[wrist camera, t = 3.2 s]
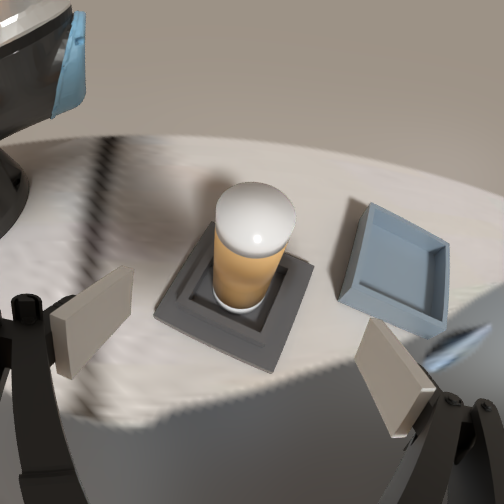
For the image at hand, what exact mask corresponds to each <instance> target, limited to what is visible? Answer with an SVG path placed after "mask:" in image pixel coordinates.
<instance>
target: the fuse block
mask: <svg viewBox="0 0 504 504" xmlns="http://www.w3.org/2000/svg"><path fill="white" fill-rule="evenodd" d="M214 239H215V223H214V222H211V223H210V225H209V226H208V228H207V229H206V231H205V232H204V234H203V235H202V237H201V238H200V240H199V242H198V243H197V245H196V246H195V248H194V249H193V251H192V252H191V254H190V256H189V257H188V259H187V260H186V262H185V264H184V265H183V267H182V268H181V270H180V272H179V273H178V275H177V276H176V278H175V280H174V281H173V283H172V285H171V286H170V288H169V289H168V291H167V293H166V294H165V296H164V298H163V299H162V301H161V303H160V304H159V306H158V308H157V309H156V311H155V313H154V314H153V316H154V318H155V319H157V320H159V321H160V322H162V323H164V324H166V325H168V326H170V327H172V328H174V329H175V330H177V331H179V332H181V333H183V334H185V335H187V336H189V337H191V338H193V339H195V340H197V341H199V342H201V343H203V344H205V345H207V346H209V347H212V348H214V349H216V350H218V351H220V352H222V353H224V354H226V355H229V356H231V357H233V358H235V359H237V360H240V361H242V362H244V363H246V364H249V365H251V366H253V367H256V368H258V369H260V370H263V371H265V372H267V373H270V374H272V373H273V372H274V369H275V367H276V364H277V362H278V360H279V357H280V355H281V352H282V350H283V347H284V345H285V343H286V340H287V338H288V335H289V333H290V330H291V328H292V325H293V322H294V320H295V317H296V315H297V312H298V310H299V307H300V304H301V302H302V299H303V296H304V294H305V291H306V288H307V286H308V283H309V280H310V277H311V275H312V272H313V269H314V266H313V265H311V264H309V263H306V262H304V261H302V260H300V259H297V258H295V257H293V256H290V255H288V254H286V253H283V255H282V257H281V260H280V262H279V264H278V267H277V269H276V271H275V274H274V276H273V278H272V281H271V283H270V285H269V288H268V290H267V292H266V294H265V297H264V299H263V301H262V303H261V305H260V306H259V307H258V308H257V309H256V310H254V311H253V312H251V313H248V314H243V315H236V314H231V313H229V312H227V311H225V310H223V309H222V308H221V307H220V306H219V305H218V304H217V302H216V301H215V299H214V296H213V263H214Z"/></svg>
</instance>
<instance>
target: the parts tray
mask: <svg viewBox="0 0 504 504" xmlns="http://www.w3.org/2000/svg"><path fill="white" fill-rule="evenodd" d="M449 275H450V249H449V243H447V242H446V241H444V240H442V239H440V238H439V237H437V236H435V235H433V234H431V233H430V232H428V231H426V230H424V229H422V228H420V227H419V226H417V225H415V224H413V223H411V222H409V221H407V220H405V219H404V218H402V217H400V216H398V215H396V214H394V213H392V212H390V211H388V210H386V209H384V208H382V207H380V206H378V205H376V204H374V203H372V202H371V203H370V204H369V206H368V207H367V209H366V210H365V212H364V213H363V215H362V216H361V218H360V220H359V224H358V229H357V233H356V237H355V241H354V245H353V249H352V253H351V257H350V260H349V264H348V268H347V271H346V275H345V279H344V282H343V286H342V289H341V293H340V296H339V299H338V302H341V303H343V304H345V305H348V306H350V307H352V308H355V309H357V310H359V311H362V312H364V313H366V314H369V315H371V316H373V317H376V318H378V319H381V320H383V321H385V322H387V323H390V324H392V325H394V326H397V327H399V328H401V329H404V330H406V331H408V332H411V333H413V334H416V335H418V336H420V337H423V338H425V339H427V340H428V339H430V338H432V337H434V336H436V335H438V334H439V333H441V332H443V331H445V330H446V326H447V315H448V301H449Z"/></svg>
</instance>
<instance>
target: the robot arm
mask: <svg viewBox="0 0 504 504" xmlns="http://www.w3.org/2000/svg"><path fill="white" fill-rule="evenodd" d="M85 23H86V13H85V12H79V11H76V12H74V13H72V8H71V0H0V140H2V139H4V138H6V137H8V136H10V135H12V134H14V133H16V132H18V131H20V130H23V129H25V128H27V127H29V126H32V125H34V124H36V123H39V122H41V121H43V120H46V119H48V118H50V119H53V118H55V116H56V115H59V114H61V113H63V112H66V111H68V110H71V109H73V108H75V107H77V106H78V105H80V103H81V102H82V101H83V99H84V97H85V94H86V86H85V85H86V84H85V25H86V24H85ZM28 192H29V183H28V179H27V177H26V175H25V173H24V171H23V169H22V168H21V167H20V165H19V164H18V163H16V162H15V161H14V160H13V159H12V158H11V157H10V156H8V155H7V154H6V153H5V152H4V151H3V150H2V149H1V148H0V238H1V237H2V236H3V235H4V234H5V233H6V232H7V231H8V230H9V229H10V228H11V226H12V225H13V224H14V223H15V221H16V220H17V218H18V217H19V215H20V213H21V211H22V210H23V208H24V205H25V203H26V200H27V197H28ZM133 274H134V269H132V268H128V267H124V266H120V267H119V268H117V269H116V270H114V271H113V272H111V273H110V274H108V275H107V276H105V277H103V278H102V279H100V280H99V281H97V282H96V283H94V284H93V285H91V286H90V287H88V288H87V289H85V290H84V291H82V292H81V293H79V294H78V295H70V296H66V297H64V298H62V299H61V300H59V301H58V302H56V303H55V304H53V306H50V307H49V308H47V309H46V310H44V311H43V310H42V300H41V298H40V297H38V296H37V295H33V294H20V295H17V296H15V297H14V298H12V300H11V306H12V314H13V321H12V320H8V319H3V318H2V316H1V310H0V400H1V397H2V393H3V390H4V386H5V383H6V380H7V377H8V374H9V371H10V369H11V372H12V400H13V413H14V423H15V432H16V439H17V446H18V452H19V457H20V463H21V467H22V474H20V475H19V483H20V488H21V492H22V496H23V500H24V503H25V504H90V502H89V500H88V497H87V495H86V493H85V490H84V488H83V485H82V483H81V480H80V478H79V475H78V472H77V470H76V467H75V464H74V461H73V458H72V455H71V452H70V449H69V446H68V443H67V439H66V436H65V433H64V429H63V425H62V421H61V418H60V414H59V409H58V405H57V401H56V396H55V391H54V386H53V381H52V376H51V370H50V367H51V366H52V365H53V364H54V363H55V364H56V370H57V374H60V375H62V376H64V377H66V378H68V379H71V380H72V379H73V378H74V377H75V376H76V375H77V374H78V372H79V371H80V370H81V369H82V368H83V367H84V366H85V364H86V363H87V362H88V361H89V360H90V359H91V358H92V356H93V355H94V354H95V353H96V352H97V351H98V350H99V349H100V347H101V346H102V345H103V344H104V343H105V342H106V341H107V340H108V339H109V337H110V336H111V335H112V334H113V333H114V332H115V331H116V330H117V329H118V328H119V327H120V325H121V324H122V323H123V322H124V321H125V320H126V319H127V318H128V317H129V316H130V315H131V299H132V285H133ZM354 360H355V362H356V364H357V366H358V368H359V370H360V372H361V374H362V376H363V378H364V380H365V382H366V385H367V386H368V389H369V391H370V392H371V395H372V397H373V399H374V401H375V403H376V405H377V407H378V410H379V412H380V414H381V416H382V418H383V420H384V422H385V425H386V427H387V429H388V431H389V433H390V436H391V438H399V437H406V436H407V434H408V433H409V431H410V430H411V428H412V427H413V428H414V430H415V432H416V433H415V434H414V436H413V437H412V439H411V440H410V441H409V443H408V444H407V446H406V447H405V448H404V451H406V452H405V454H404V456H403V458H402V460H401V462H400V464H399V466H398V468H397V470H396V472H395V474H394V476H393V477H392V479H391V481H390V483H389V485H388V486H387V488H386V490H385V492H384V493H383V495H382V497H381V499H380V500H379V502H378V504H442V501H443V498H444V495H445V492H446V488H447V485H448V504H504V428H503V425H502V422H501V419H500V416H499V413H498V410H497V408H496V406H495V405H494V404H493V402H491V401H489V400H486V399H481V398H480V399H478V400H477V401H476V402H475V404H474V405H473V407H468V406H464V403H463V401H462V400H461V399H460V398H459V397H458V396H457V395H454V394H452V393H450V392H442V390H441V389H440V388H439V387H438V385H437V384H436V383H435V381H434V380H433V379H432V377H431V376H430V375H428V372H427V371H426V370H425V369H424V367H422V366H421V365H420V364H418V363H417V362H416V361H415V360H414V359H413V357H412V356H411V355H410V354H409V352H408V351H407V350H406V349H405V347H404V346H403V345H402V344H401V342H400V341H399V340H398V339H397V338H396V336H395V335H394V334H393V333H392V331H391V330H390V329H389V328H388V327H387V325H386V324H385V323H384V322H383V321H382V320H381V319H375V318H370V320H369V322H368V325H367V328H366V330H365V333H364V335H363V338H362V341H361V343H360V346H359V348H358V351H357V353H356V355H355V358H354Z"/></svg>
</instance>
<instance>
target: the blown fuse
mask: <svg viewBox="0 0 504 504" xmlns="http://www.w3.org/2000/svg"><path fill="white" fill-rule="evenodd" d="M295 223H296V212H295V208H294V206H293V204H292V202H291V201H290V199H289V198H288V197H287V196H286V195H285V194H284V193H283V192H281V191H280V190H278V189H277V188H275V187H273V186H270V185H267V184H264V183H258V182H245V183H240V184H237V185H234V186H232V187H230V188H229V189H227V190H226V191H225V192H224V193H223V194H222V195H221V196H220V198H219V200H218V202H217V206H216V219H215V239H214V263H213V296H214V299H215V301H216V302H217V304H218V305H219V306H220V307H221V308H222V309H223V310H225V311H227V312H229V313H231V314H236V315H243V314H248V313H251V312H253V311H254V310H256V309H257V308H258V307H259V306H260V305H261V303H262V301H263V299H264V297H265V294H266V292H267V290H268V288H269V285H270V283H271V281H272V278H273V276H274V274H275V271H276V269H277V267H278V264H279V262H280V260H281V257H282V255H283V253H284V250H285V248H286V246H287V243H288V241H289V238H290V236H291V234H292V231H293V229H294V226H295Z"/></svg>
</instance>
